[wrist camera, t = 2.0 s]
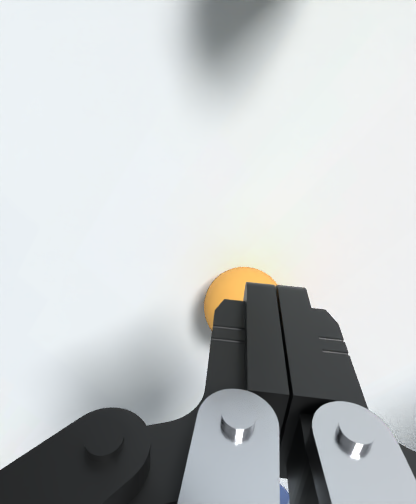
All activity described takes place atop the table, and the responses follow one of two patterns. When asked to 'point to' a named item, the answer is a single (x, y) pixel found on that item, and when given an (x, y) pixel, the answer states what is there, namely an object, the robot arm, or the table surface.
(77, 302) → the table surface
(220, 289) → the ball
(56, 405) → the table surface
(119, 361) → the table surface
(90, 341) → the table surface
